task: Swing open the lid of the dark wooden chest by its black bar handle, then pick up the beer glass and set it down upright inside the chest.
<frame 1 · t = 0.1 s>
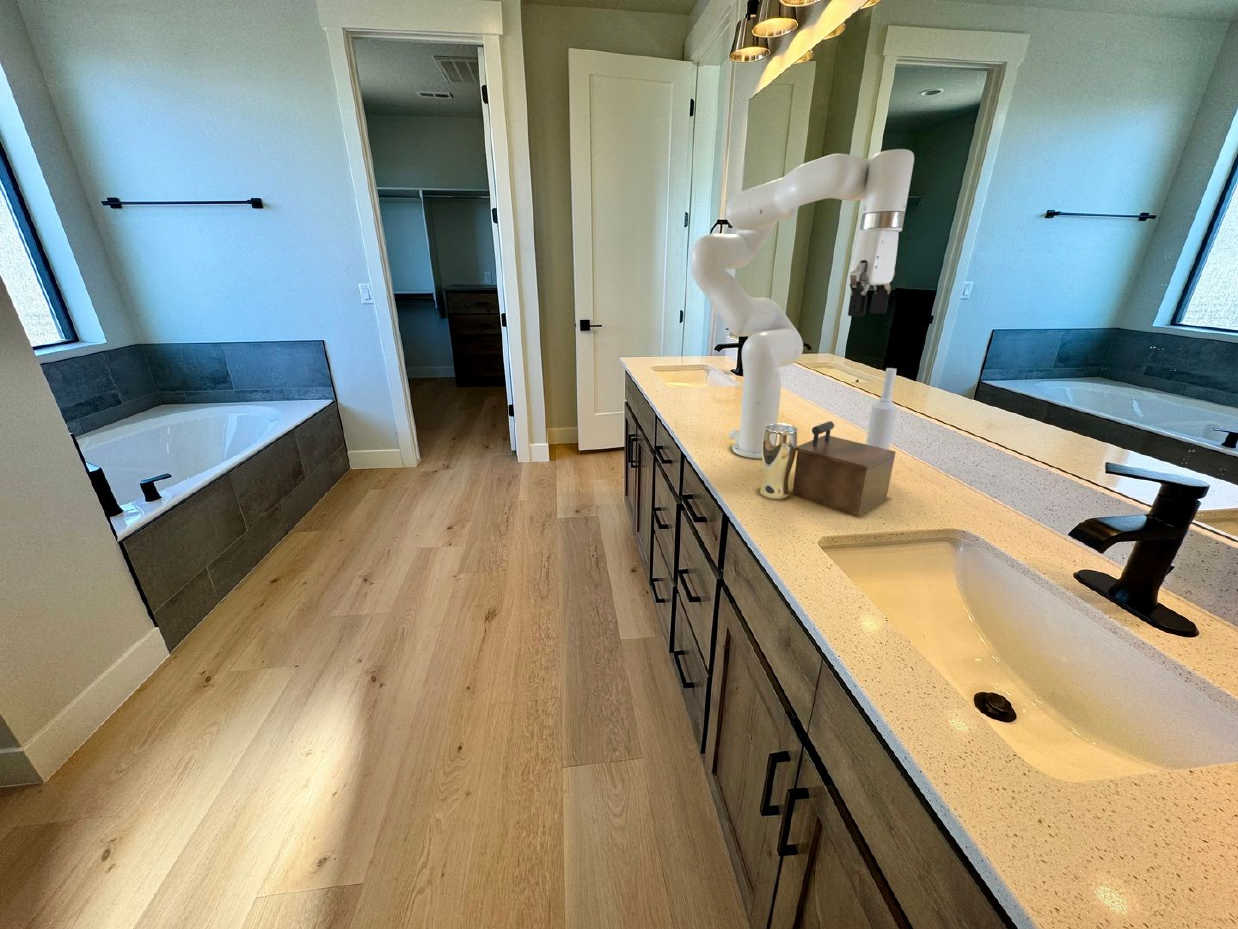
hand: (867, 314, 103), 37 cm above the worktop, tool pointing down, fingers open, 9 cm apart
chest: (838, 496, 106), on the worktop
bottle: (872, 474, 117), on the worktop
beer glass: (774, 494, 108), on the worktop, touching lid
lid: (846, 441, 102), point 12 cm above the worktop, hinge at 0.2°, touching beer glass
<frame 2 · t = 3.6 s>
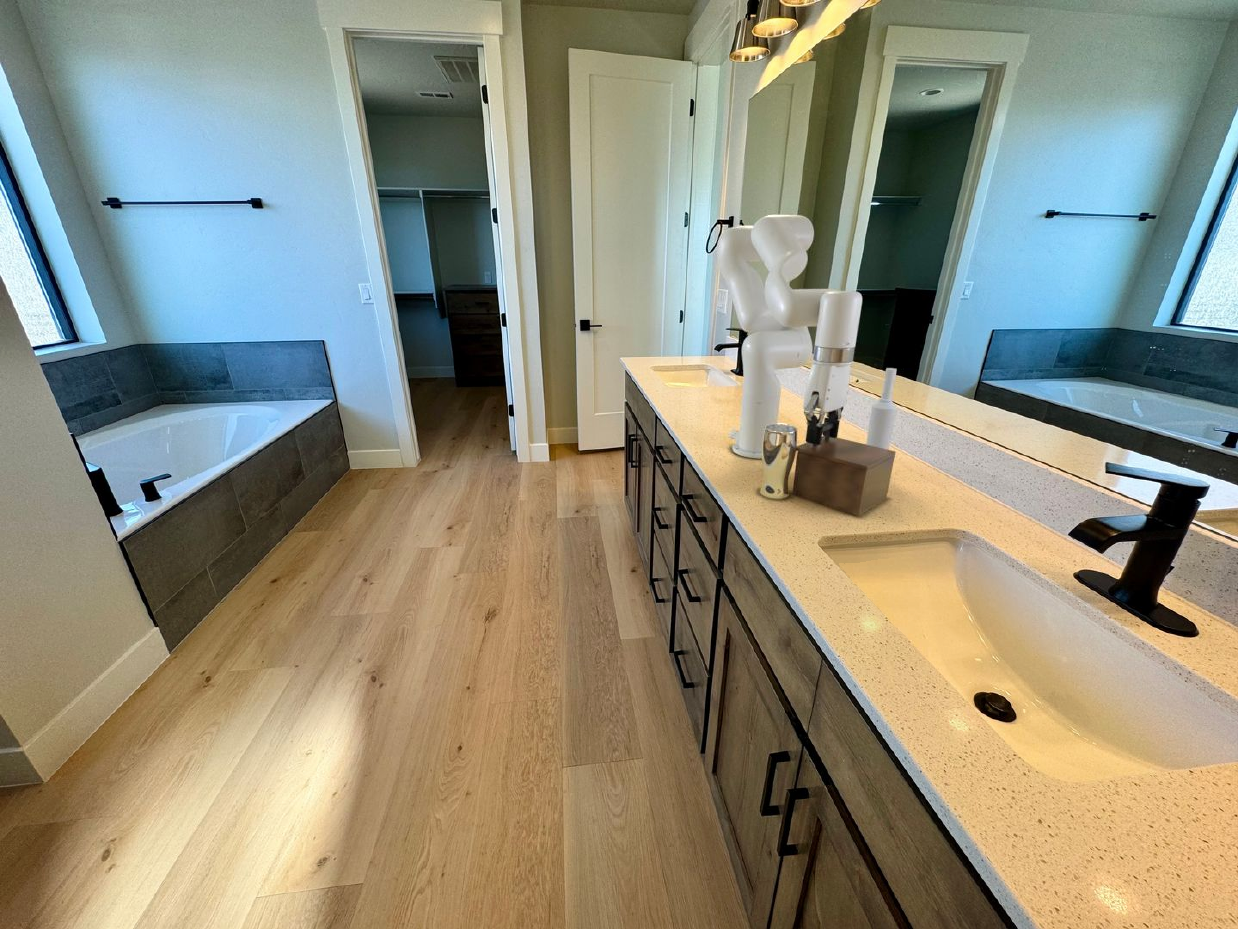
hand: (821, 439, 106), 12 cm above the worktop, tool pointing down, fingers closed on lid, 6 cm apart
lid: (846, 441, 102), point 12 cm above the worktop, hinge at 0.2°, touching beer glass, gripper
everything else where it was.
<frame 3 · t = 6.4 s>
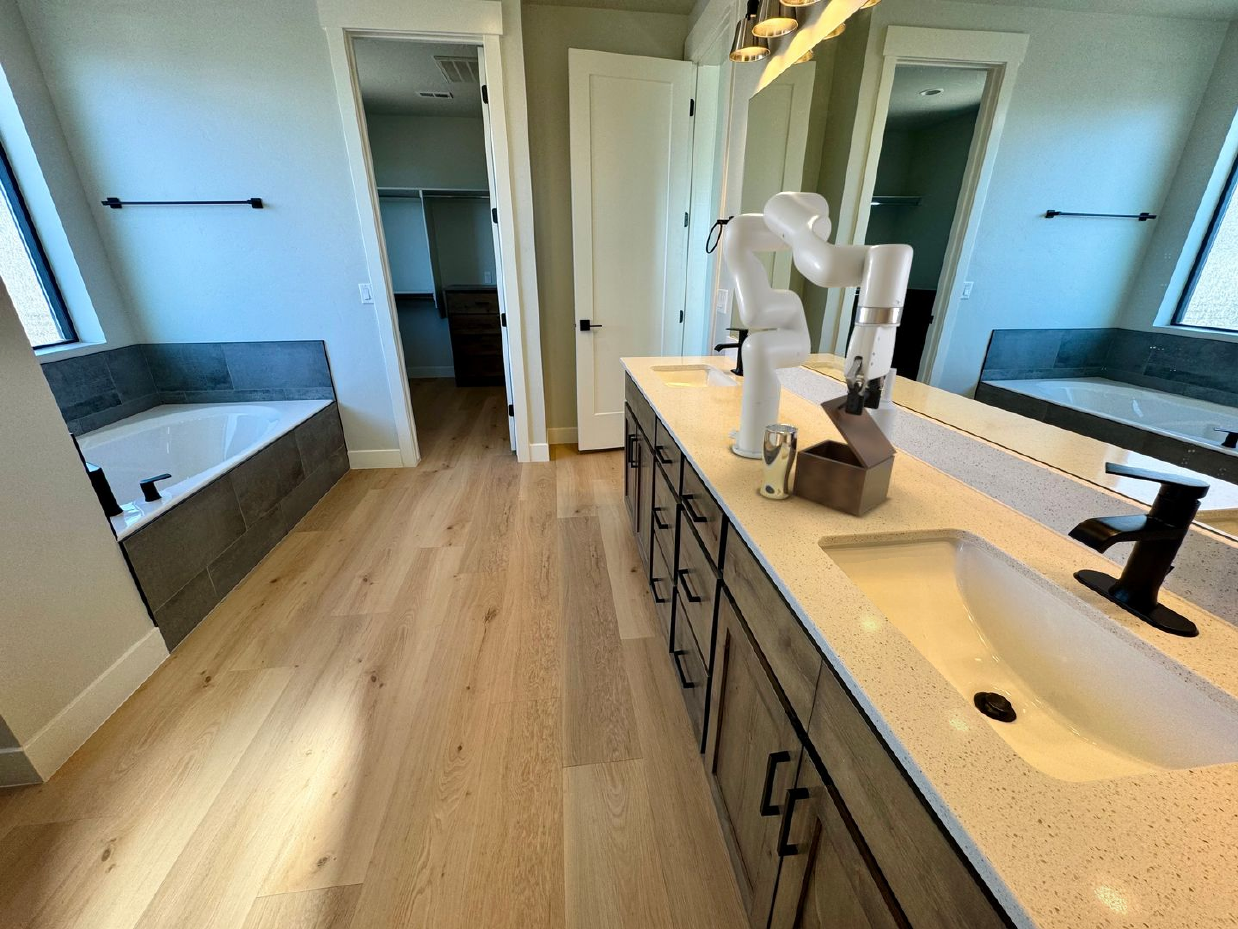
hand: (861, 410, 98), 19 cm above the worktop, tool pointing down, fingers closed on lid, 6 cm apart
beer glass: (774, 494, 108), on the worktop
lid: (868, 423, 97), point 17 cm above the worktop, hinge at 45.0°, touching gripper
everything else where it was.
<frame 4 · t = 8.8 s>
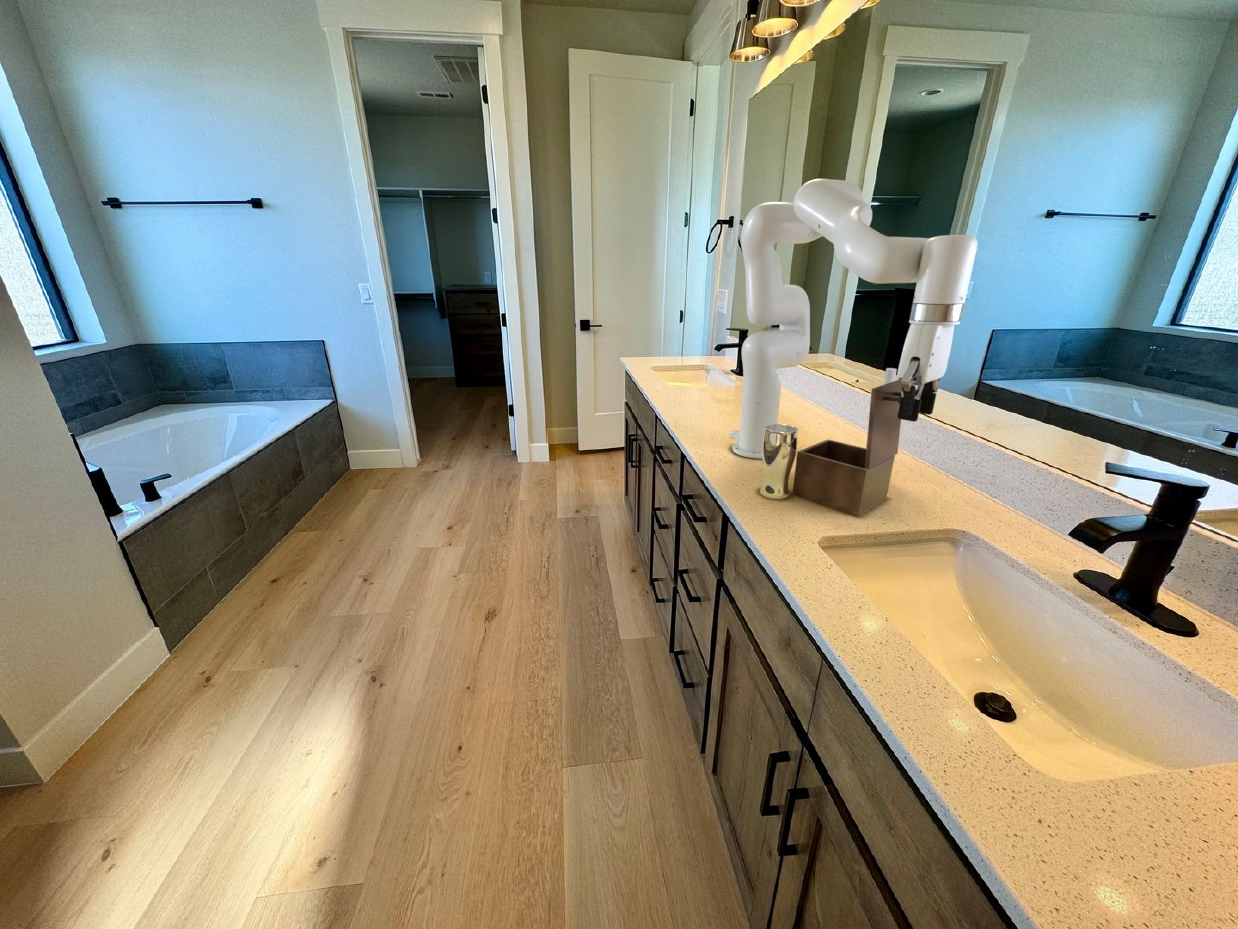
hand: (914, 415, 90), 20 cm above the worktop, tool pointing down, fingers closed on lid, 6 cm apart
lid: (897, 424, 93), point 18 cm above the worktop, hinge at 85.2°, touching gripper
everything else where it was.
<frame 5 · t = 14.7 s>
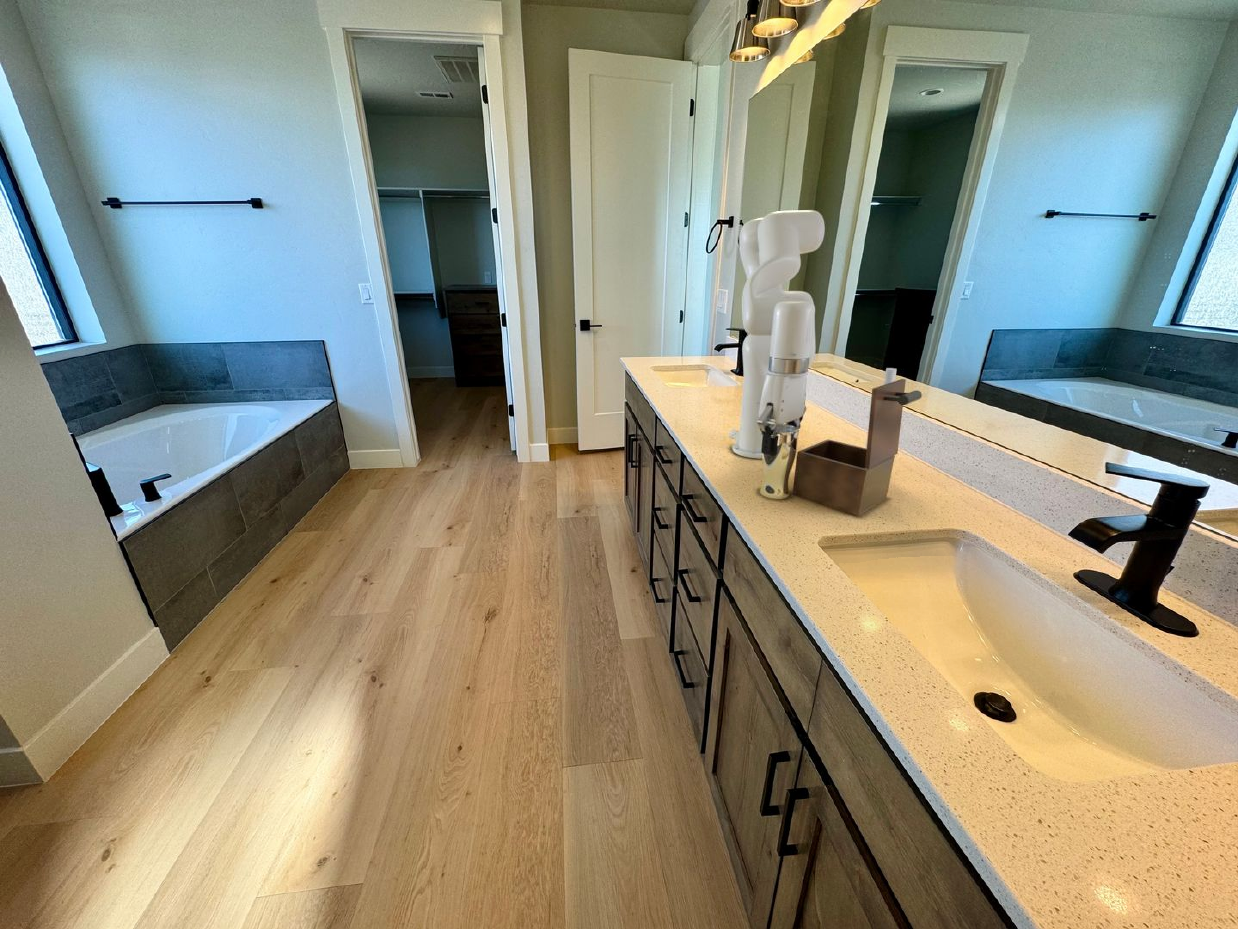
hand: (779, 449, 104), 10 cm above the worktop, tool pointing down, fingers closed on beer glass, 7 cm apart
beer glass: (774, 494, 108), on the worktop, touching gripper
lid: (897, 424, 93), point 18 cm above the worktop, hinge at 85.5°
everything else where it was.
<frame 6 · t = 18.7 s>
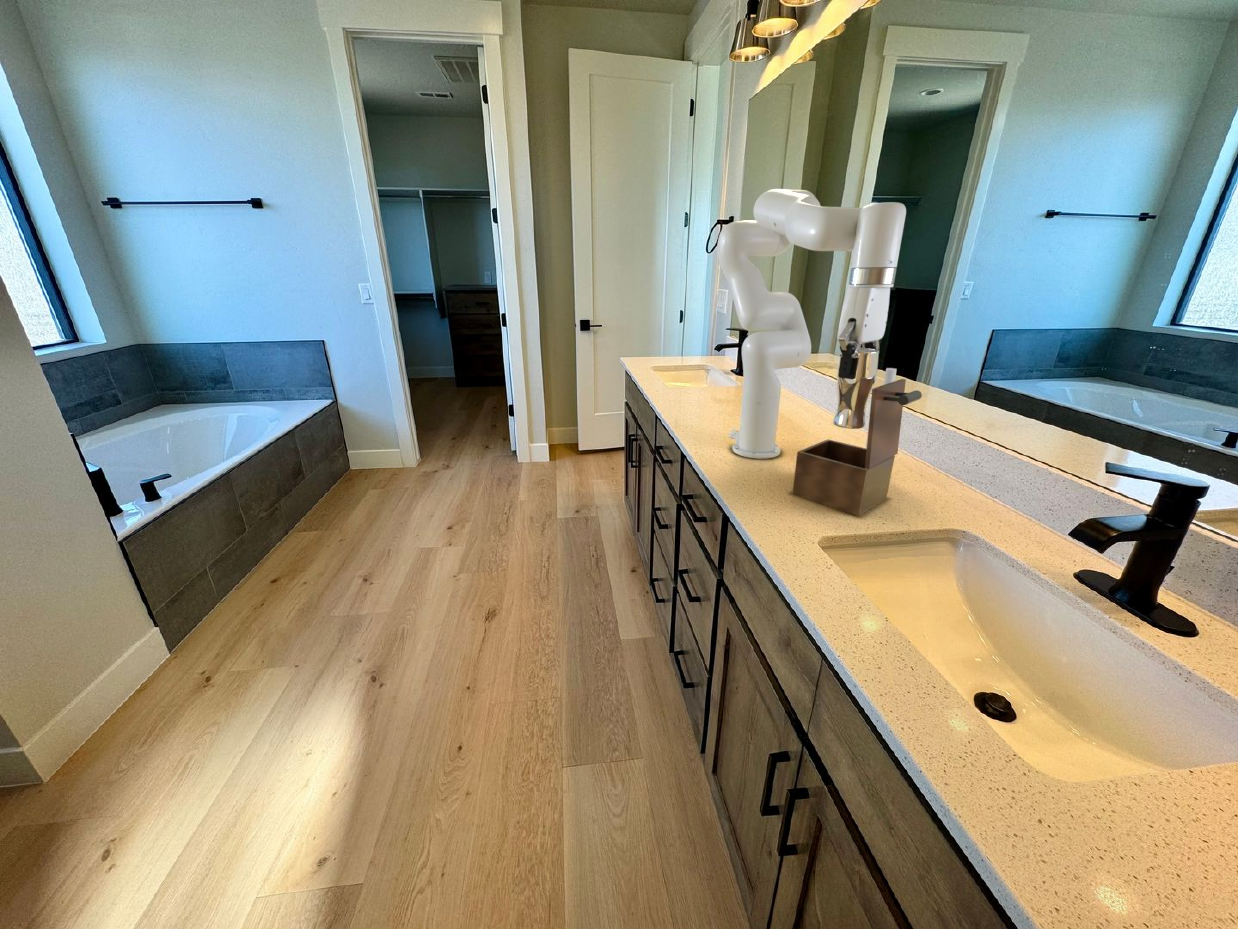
hand: (856, 374, 97), 26 cm above the worktop, tool pointing down, fingers closed on beer glass, 7 cm apart
beer glass: (848, 425, 100), point 16 cm above the worktop, touching gripper
everything else where it was.
when the fingers open (11 cm above the worktop, at t = 22.5 s): beer glass stays where it is, resting on chest.
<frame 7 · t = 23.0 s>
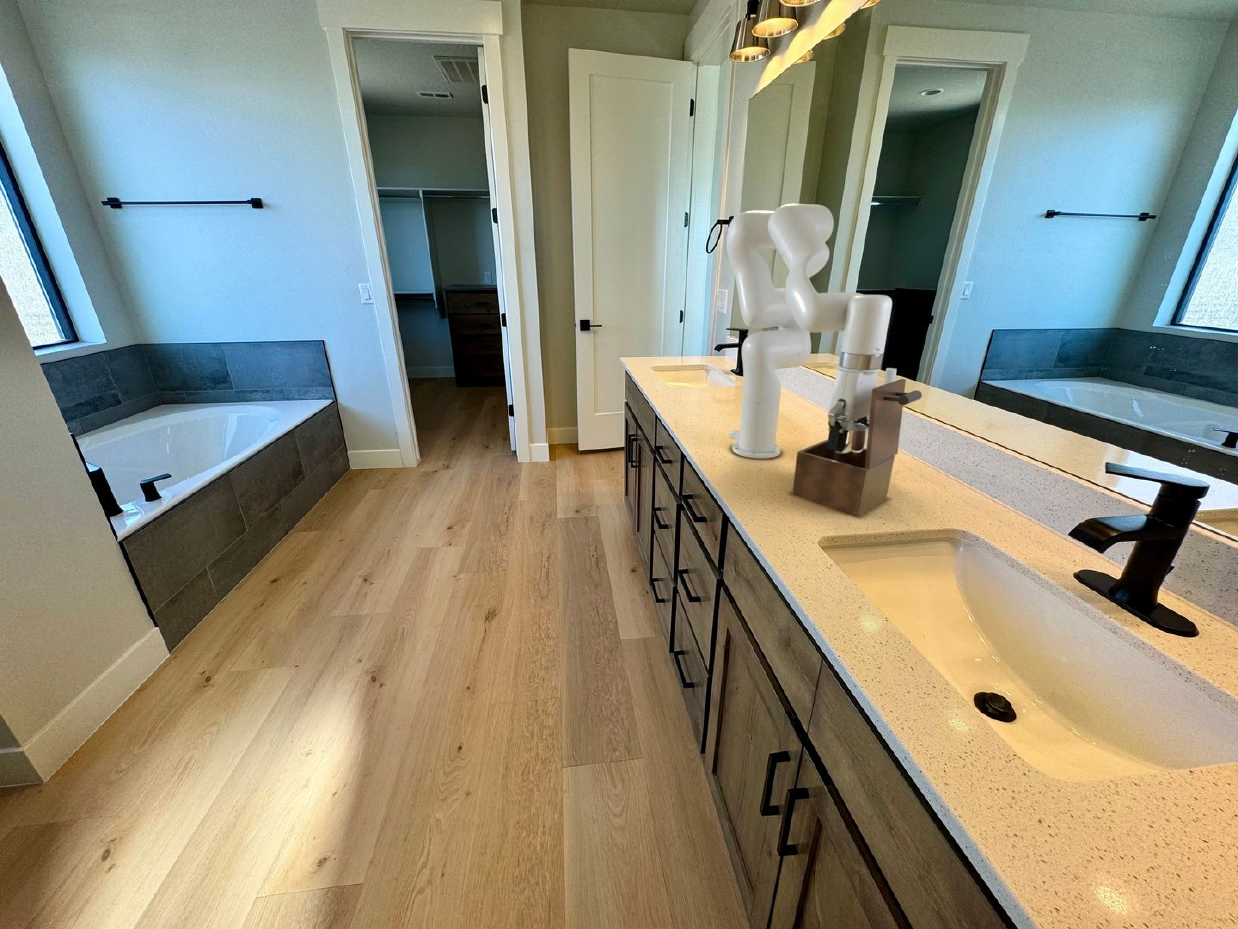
hand: (846, 444, 102), 12 cm above the worktop, tool pointing down, fingers open, 9 cm apart
beer glass: (839, 493, 106), point 1 cm above the worktop, touching chest
everything else where it was.
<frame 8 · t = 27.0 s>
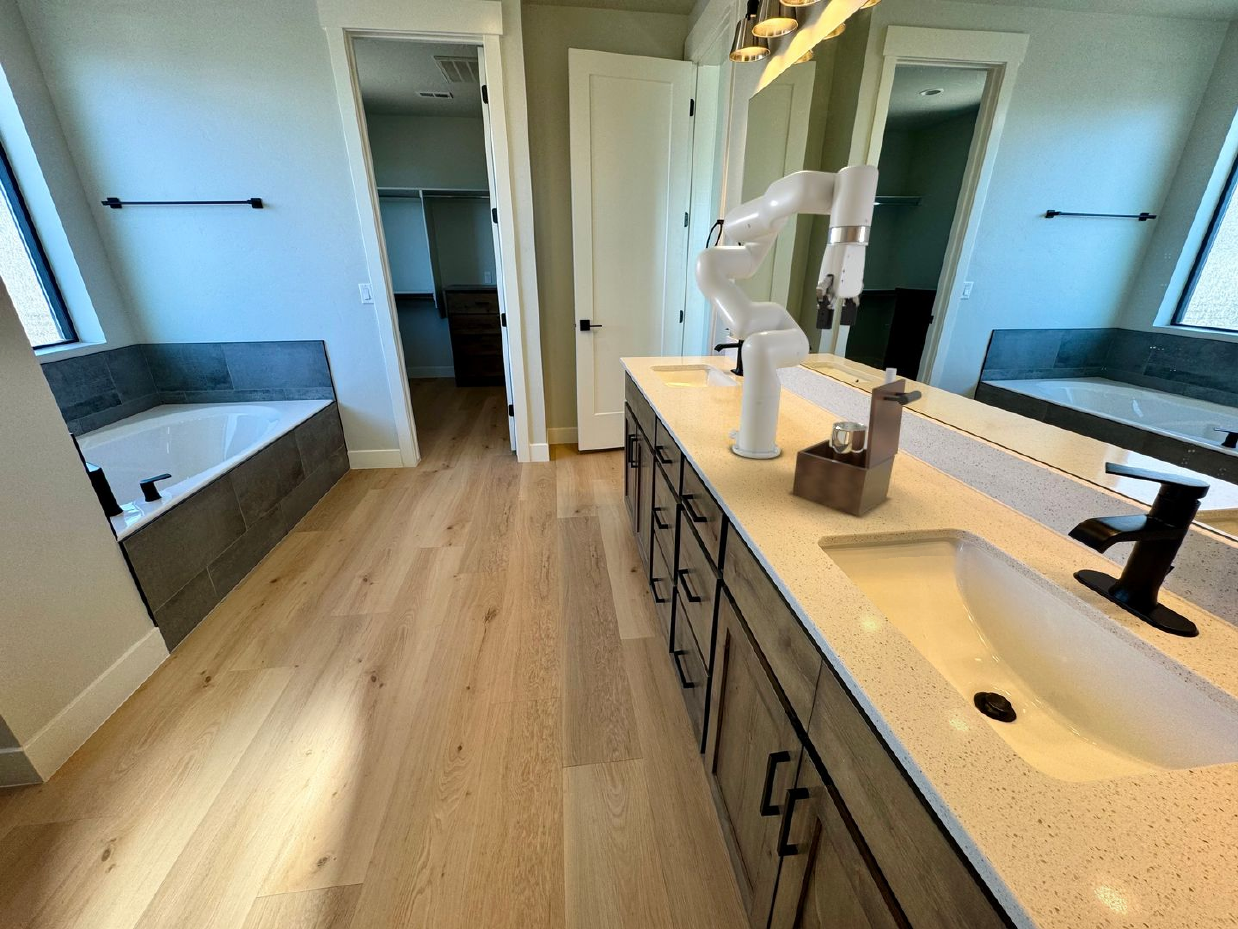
hand: (835, 327, 104), 34 cm above the worktop, tool pointing down, fingers open, 9 cm apart
nothing on the worktop moved.
at the end: lid at +86° (first picture: +0°); beer glass inside the target area in the chest (0.0 cm from its centre), point 0.6 cm above the chest's base; beer glass tilted 0° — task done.
